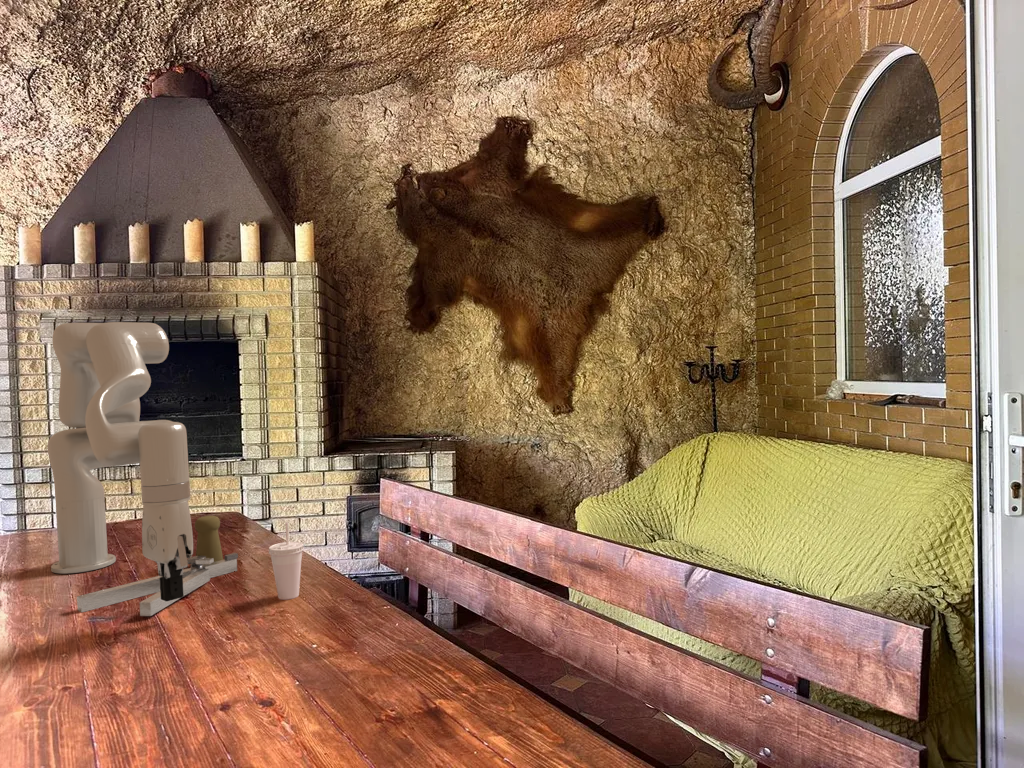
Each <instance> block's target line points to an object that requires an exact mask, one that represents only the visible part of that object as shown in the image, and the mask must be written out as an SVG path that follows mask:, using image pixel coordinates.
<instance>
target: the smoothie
mask: <svg viewBox="0 0 1024 768" xmlns="http://www.w3.org/2000/svg"><path fill="white" fill-rule="evenodd" d="M284 525H285V541H284V542H279V543H276V544H273V545H272V544H271V545H270V546H269V547H268V554H269V555H270V559H271V563H272V565H271V566H272V570H273V574H274V575H273V576H274V581H275V586H276V592H277V598H278V599H279V600H283V601H285V600H287V601H288V600H293V599H296V598H298V597H299V595H300V585H301V584H300V583H301V571H302V570H301V569H302V568H301V567H302V557H303V551H304V549H305V547H304V543H303V542H301V541H290V532H289V531H290V527H289V522H288V521H286V522H285V524H284Z"/></svg>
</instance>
